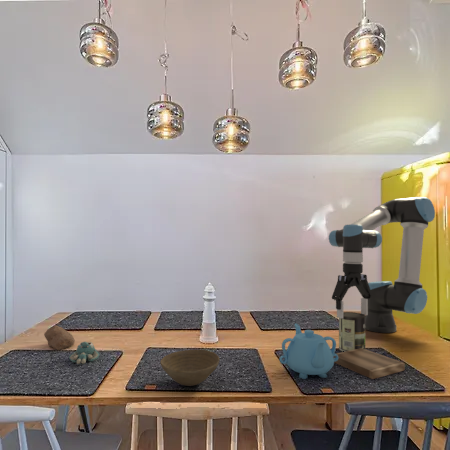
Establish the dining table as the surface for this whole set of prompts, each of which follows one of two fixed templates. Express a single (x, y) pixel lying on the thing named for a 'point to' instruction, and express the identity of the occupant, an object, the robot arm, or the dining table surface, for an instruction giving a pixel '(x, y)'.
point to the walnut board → (369, 363)
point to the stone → (59, 338)
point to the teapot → (309, 353)
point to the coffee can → (351, 331)
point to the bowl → (190, 366)
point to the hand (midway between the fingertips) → (352, 316)
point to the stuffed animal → (84, 353)
